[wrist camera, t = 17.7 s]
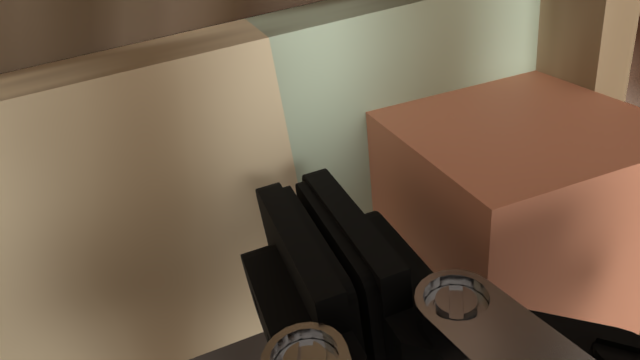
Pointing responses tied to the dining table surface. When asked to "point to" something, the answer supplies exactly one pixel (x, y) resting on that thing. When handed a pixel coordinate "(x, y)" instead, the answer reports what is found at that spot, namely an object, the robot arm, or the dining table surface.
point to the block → (519, 191)
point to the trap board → (231, 155)
